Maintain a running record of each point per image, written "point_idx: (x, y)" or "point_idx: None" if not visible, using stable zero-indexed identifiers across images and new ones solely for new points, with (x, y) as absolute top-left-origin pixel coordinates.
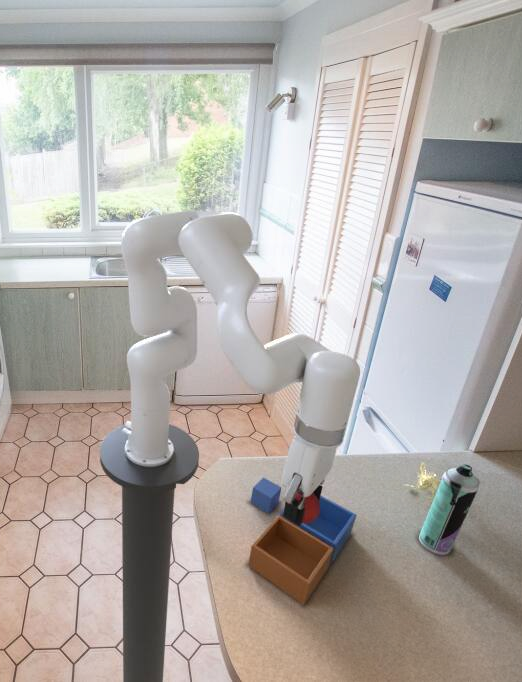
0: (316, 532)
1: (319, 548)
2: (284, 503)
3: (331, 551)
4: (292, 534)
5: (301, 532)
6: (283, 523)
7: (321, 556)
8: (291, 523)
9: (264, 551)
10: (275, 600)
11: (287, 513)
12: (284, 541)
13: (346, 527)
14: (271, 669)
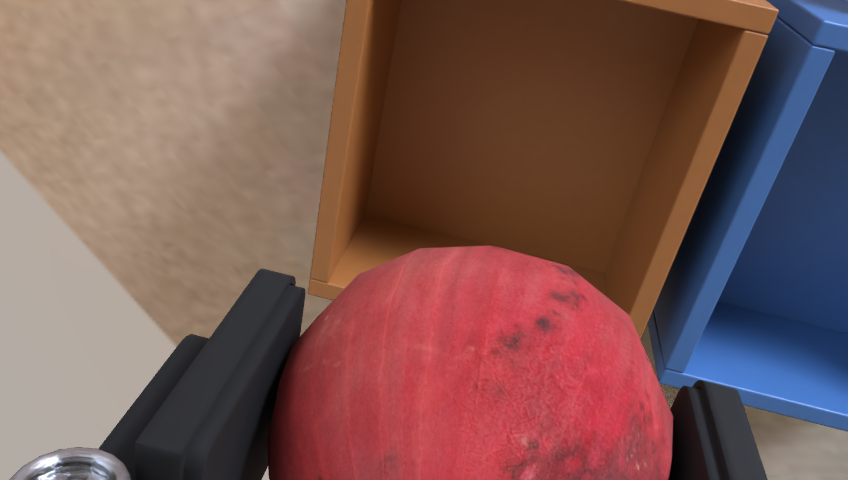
0: (710, 282)
1: (626, 287)
2: (406, 266)
3: None
4: (684, 121)
5: (675, 195)
6: (723, 59)
7: (614, 280)
8: (725, 123)
9: (362, 18)
10: (294, 101)
11: (168, 368)
12: (682, 54)
13: (839, 424)
14: (23, 160)
